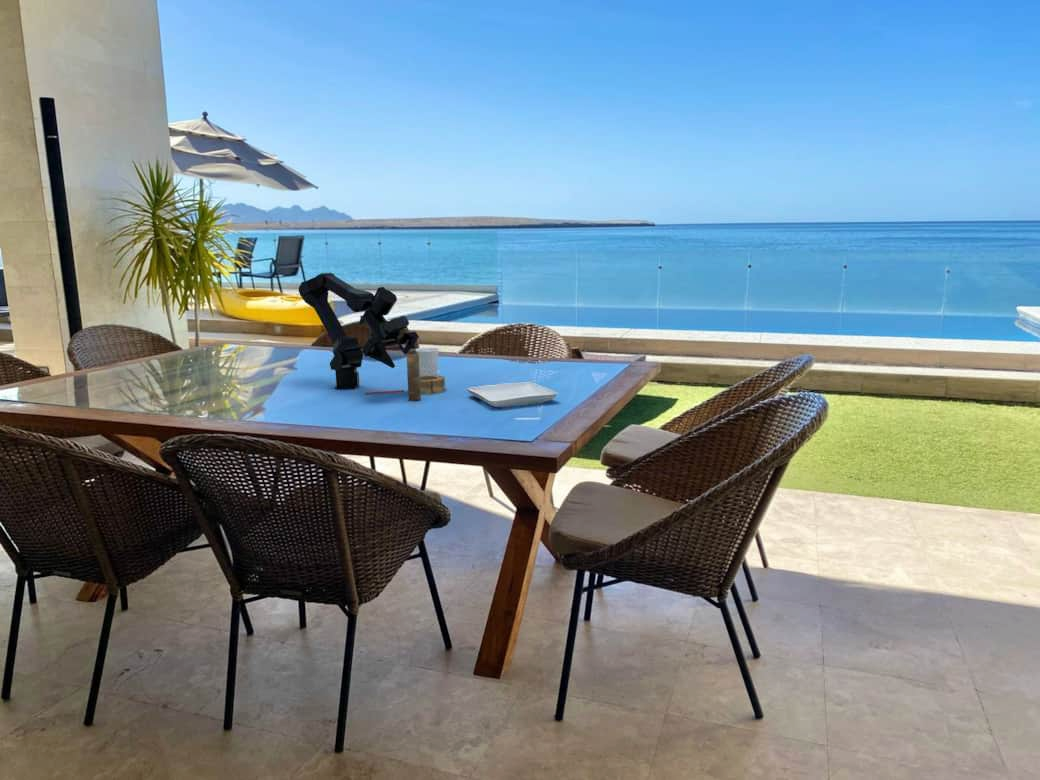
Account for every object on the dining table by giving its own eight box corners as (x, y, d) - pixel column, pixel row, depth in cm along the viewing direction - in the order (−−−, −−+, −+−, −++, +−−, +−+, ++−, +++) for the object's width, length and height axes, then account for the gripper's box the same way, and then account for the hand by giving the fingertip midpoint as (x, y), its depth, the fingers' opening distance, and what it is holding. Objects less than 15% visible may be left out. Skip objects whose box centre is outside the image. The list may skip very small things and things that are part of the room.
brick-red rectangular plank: (365, 394, 238) (364, 392, 238) (365, 393, 239) (365, 392, 239) (404, 392, 240) (404, 390, 240) (404, 391, 241) (404, 390, 241)
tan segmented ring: (408, 394, 237) (407, 381, 237) (414, 387, 248) (413, 375, 247) (442, 394, 237) (441, 381, 236) (446, 387, 247) (445, 374, 246)
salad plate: (465, 397, 233) (465, 386, 232) (530, 390, 241) (530, 380, 241) (491, 412, 214) (491, 400, 213) (560, 404, 222) (560, 393, 222)
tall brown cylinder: (407, 401, 228) (405, 349, 225) (409, 398, 231) (407, 347, 228) (419, 401, 228) (417, 349, 225) (421, 398, 231) (419, 347, 228)
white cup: (435, 381, 257) (434, 351, 255) (412, 380, 259) (411, 350, 257) (442, 376, 265) (441, 347, 263) (420, 375, 266) (419, 347, 264)
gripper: (365, 310, 222) (394, 351, 218) (413, 305, 236) (440, 343, 232) (350, 336, 229) (377, 376, 224) (397, 329, 243) (423, 366, 238)
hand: (405, 364), depth 229 cm, fingers open, 9 cm apart
